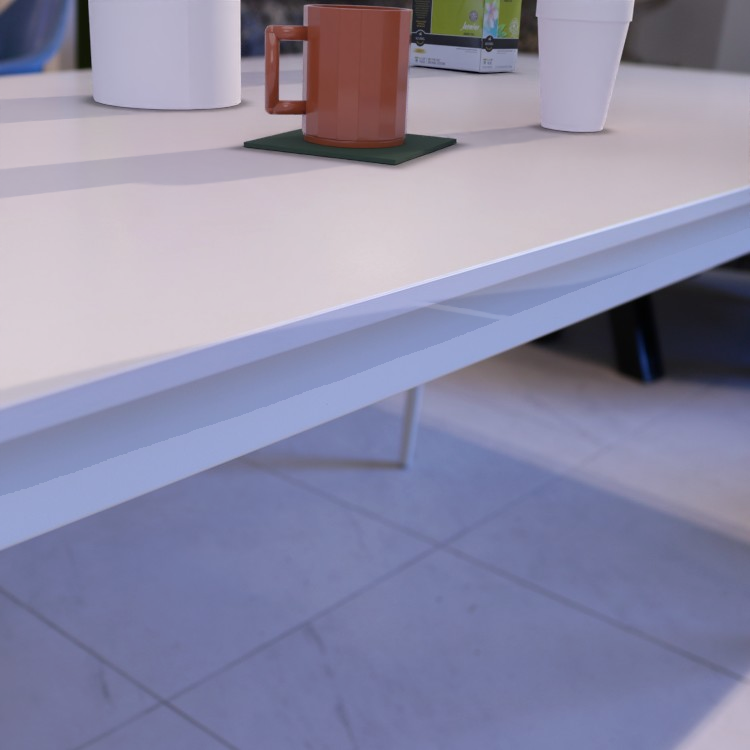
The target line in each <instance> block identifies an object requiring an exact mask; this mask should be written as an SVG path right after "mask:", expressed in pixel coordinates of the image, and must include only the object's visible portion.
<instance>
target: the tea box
mask: <svg viewBox="0 0 750 750" xmlns="http://www.w3.org/2000/svg"><path fill="white" fill-rule="evenodd" d="M522 1H523V0H411V9H412V10H413V16H412V35H411V55H410V66H419V67H429V68H437V69H447V70H448V69H449V70H457V71H466V72H467V71H468V72H478V73H500V72H502V73H503V72H515V71H516V69H517V61H518V53H519V52H518V51H519V42H520V41H519V40H520V39H519V38H520V27H521V14H522V13H521V12H522Z"/></svg>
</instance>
